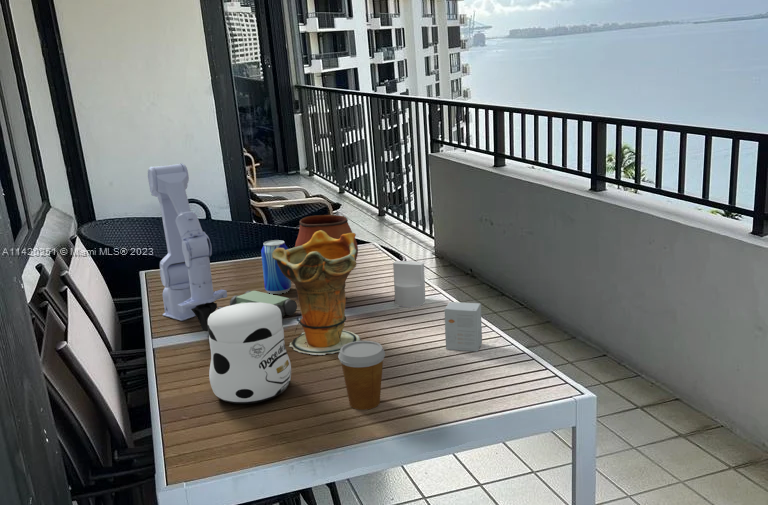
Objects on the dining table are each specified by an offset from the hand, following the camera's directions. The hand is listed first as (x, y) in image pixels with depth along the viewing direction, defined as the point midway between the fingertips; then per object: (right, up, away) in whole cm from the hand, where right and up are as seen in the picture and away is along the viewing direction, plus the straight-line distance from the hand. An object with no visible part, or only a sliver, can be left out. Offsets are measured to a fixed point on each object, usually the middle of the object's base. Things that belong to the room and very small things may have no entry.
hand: (206, 329), depth 183 cm
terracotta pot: (+31, +6, +25) cm, 40 cm away
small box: (+67, -2, -16) cm, 69 cm away
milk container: (+19, -10, -35) cm, 41 cm away
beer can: (+14, +8, +35) cm, 39 cm away
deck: (+12, +3, +15) cm, 19 cm away
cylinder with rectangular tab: (+55, +6, +18) cm, 59 cm away
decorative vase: (+33, -2, -8) cm, 34 cm away
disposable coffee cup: (+44, -10, -42) cm, 62 cm away
